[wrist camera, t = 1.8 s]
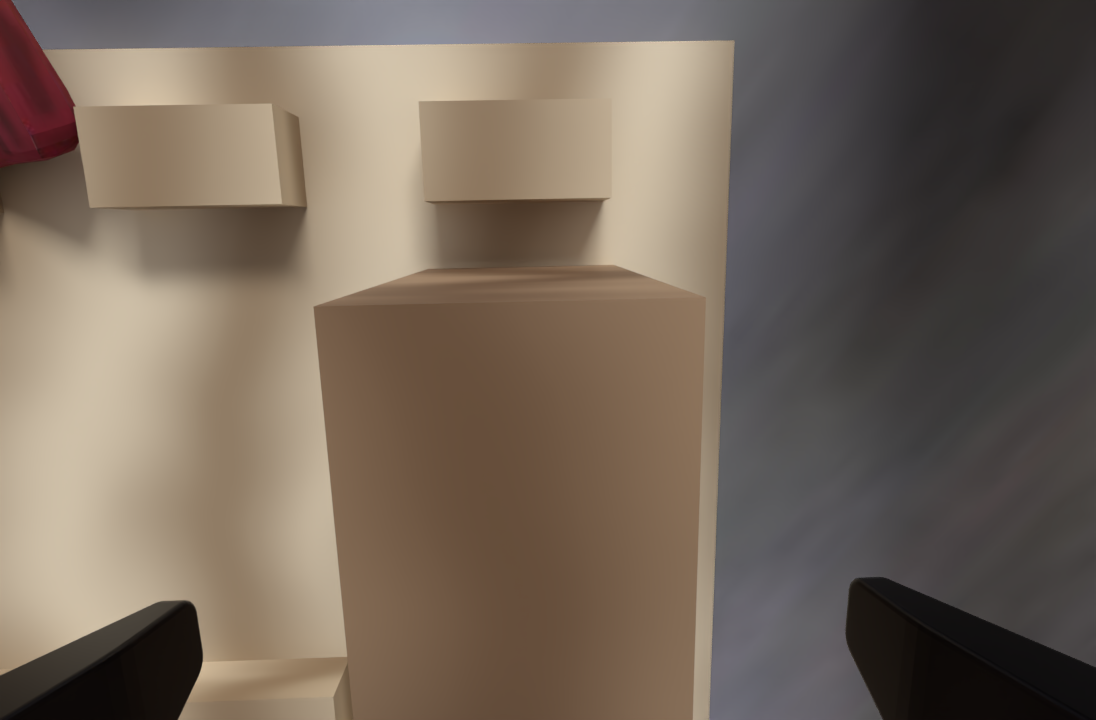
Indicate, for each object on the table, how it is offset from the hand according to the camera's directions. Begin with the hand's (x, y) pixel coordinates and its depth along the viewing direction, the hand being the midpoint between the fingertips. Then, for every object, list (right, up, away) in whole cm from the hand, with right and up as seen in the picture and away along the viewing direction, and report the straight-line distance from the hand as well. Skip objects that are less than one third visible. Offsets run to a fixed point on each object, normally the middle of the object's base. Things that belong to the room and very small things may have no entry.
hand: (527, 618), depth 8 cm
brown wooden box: (0, +1, +7) cm, 8 cm away
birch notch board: (-7, +1, +8) cm, 11 cm away
